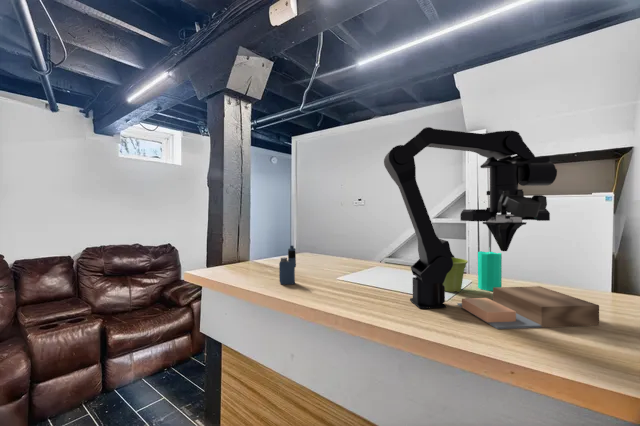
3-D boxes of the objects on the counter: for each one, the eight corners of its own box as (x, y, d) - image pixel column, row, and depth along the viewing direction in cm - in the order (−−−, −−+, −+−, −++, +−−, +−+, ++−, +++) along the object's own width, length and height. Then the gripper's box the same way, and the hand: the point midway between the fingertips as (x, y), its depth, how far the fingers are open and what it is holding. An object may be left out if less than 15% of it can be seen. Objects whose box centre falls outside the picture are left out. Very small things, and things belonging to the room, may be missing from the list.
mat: (497, 328, 55) (497, 326, 55) (457, 304, 69) (457, 303, 69) (541, 327, 55) (541, 325, 55) (493, 303, 69) (493, 302, 69)
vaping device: (295, 284, 89) (295, 246, 88) (278, 284, 89) (278, 246, 89) (296, 282, 91) (296, 245, 91) (280, 282, 91) (279, 245, 91)
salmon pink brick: (515, 311, 57) (515, 321, 57) (486, 297, 66) (486, 306, 66) (487, 312, 57) (487, 322, 57) (461, 298, 66) (461, 307, 66)
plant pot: (469, 288, 83) (469, 258, 83) (466, 296, 75) (466, 263, 75) (435, 283, 88) (435, 256, 88) (429, 291, 80) (429, 260, 80)
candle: (505, 291, 79) (505, 248, 79) (481, 290, 80) (481, 248, 80) (496, 286, 85) (496, 246, 85) (474, 285, 86) (474, 245, 86)
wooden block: (541, 327, 55) (541, 306, 55) (493, 303, 69) (493, 287, 69) (599, 325, 56) (599, 305, 56) (539, 302, 70) (539, 286, 70)
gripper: (488, 182, 59) (488, 257, 60) (572, 182, 61) (572, 255, 61) (459, 187, 71) (459, 250, 71) (530, 187, 72) (530, 248, 72)
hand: (503, 251), depth 68 cm, fingers closed
